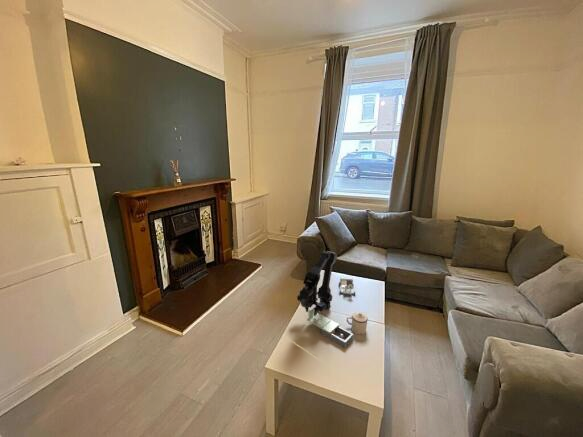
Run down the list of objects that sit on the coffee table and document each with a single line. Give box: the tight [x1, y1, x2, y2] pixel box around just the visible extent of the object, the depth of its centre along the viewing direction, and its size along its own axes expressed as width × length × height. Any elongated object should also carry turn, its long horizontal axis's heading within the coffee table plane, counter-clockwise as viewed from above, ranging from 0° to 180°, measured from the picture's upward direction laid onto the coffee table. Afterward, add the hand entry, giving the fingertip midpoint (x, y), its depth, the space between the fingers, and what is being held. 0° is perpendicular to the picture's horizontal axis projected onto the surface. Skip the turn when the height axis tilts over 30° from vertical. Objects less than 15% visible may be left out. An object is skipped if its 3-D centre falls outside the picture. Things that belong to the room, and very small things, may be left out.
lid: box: [306, 306, 340, 333], centre depth 147 cm, size 18×10×5 cm, turn 48°
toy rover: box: [338, 277, 356, 297], centre depth 190 cm, size 18×10×12 cm
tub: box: [320, 325, 355, 349], centre depth 141 cm, size 16×9×4 cm, turn 48°
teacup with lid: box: [346, 311, 369, 335], centre depth 147 cm, size 12×9×12 cm
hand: (311, 313), depth 152 cm, fingers open, 6 cm apart
